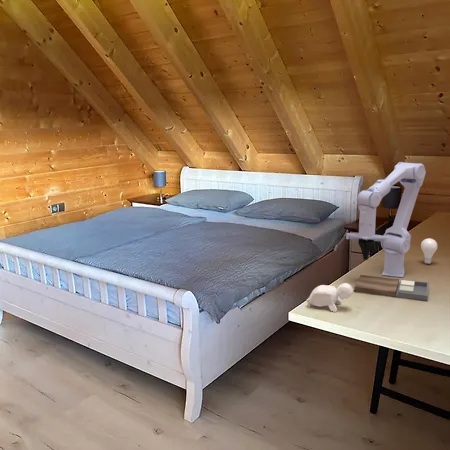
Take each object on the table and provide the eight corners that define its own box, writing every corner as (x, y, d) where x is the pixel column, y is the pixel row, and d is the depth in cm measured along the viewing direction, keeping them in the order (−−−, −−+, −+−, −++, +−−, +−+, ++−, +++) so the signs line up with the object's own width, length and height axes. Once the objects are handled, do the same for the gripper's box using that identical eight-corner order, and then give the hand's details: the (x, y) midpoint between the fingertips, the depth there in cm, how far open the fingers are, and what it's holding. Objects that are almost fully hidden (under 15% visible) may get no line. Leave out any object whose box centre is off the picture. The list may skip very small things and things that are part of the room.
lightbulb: (426, 266, 197) (428, 241, 194) (416, 262, 203) (418, 237, 200) (439, 265, 198) (441, 239, 196) (429, 261, 204) (431, 236, 202)
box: (399, 284, 177) (399, 279, 177) (428, 287, 173) (428, 282, 173) (395, 297, 165) (396, 291, 165) (427, 301, 161) (427, 295, 161)
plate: (360, 279, 183) (360, 274, 183) (398, 284, 178) (399, 279, 177) (354, 292, 171) (354, 286, 170) (395, 297, 165) (395, 291, 165)
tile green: (399, 290, 170) (400, 285, 170) (413, 292, 168) (413, 286, 168) (398, 295, 166) (399, 289, 166) (412, 296, 164) (413, 291, 164)
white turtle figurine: (311, 317, 157) (355, 308, 151) (302, 294, 157) (345, 283, 150) (317, 308, 165) (359, 298, 158) (308, 285, 165) (350, 275, 158)
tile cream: (401, 285, 175) (401, 279, 175) (414, 286, 174) (414, 281, 173) (400, 289, 171) (400, 283, 171) (413, 290, 170) (413, 285, 169)
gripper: (345, 224, 174) (343, 259, 177) (386, 227, 168) (384, 264, 171) (348, 220, 180) (347, 254, 183) (388, 223, 174) (386, 258, 177)
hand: (365, 259), depth 178 cm, fingers closed
